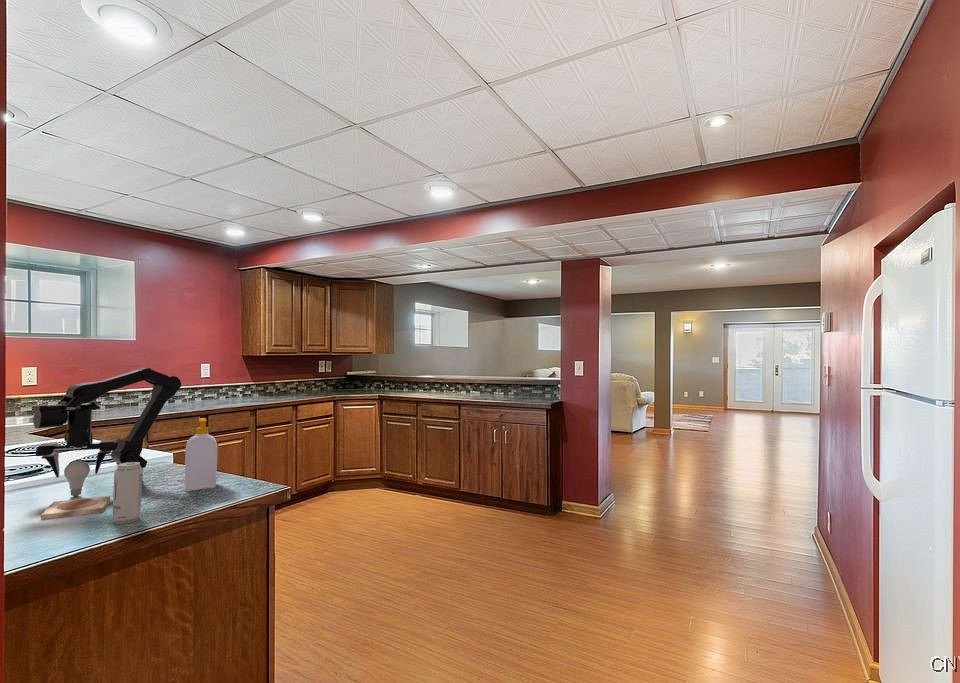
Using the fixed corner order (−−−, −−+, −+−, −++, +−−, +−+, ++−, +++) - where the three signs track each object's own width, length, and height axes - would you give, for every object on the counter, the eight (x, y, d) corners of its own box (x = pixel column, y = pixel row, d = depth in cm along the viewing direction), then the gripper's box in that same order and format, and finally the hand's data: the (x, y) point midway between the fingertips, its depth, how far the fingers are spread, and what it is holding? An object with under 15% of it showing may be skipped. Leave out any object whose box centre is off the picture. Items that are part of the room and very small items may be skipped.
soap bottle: (214, 483, 163) (217, 416, 164) (216, 487, 158) (218, 419, 158) (184, 486, 159) (186, 418, 159) (184, 491, 153) (187, 420, 154)
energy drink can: (110, 520, 125) (113, 463, 126) (138, 515, 130) (140, 460, 130) (113, 526, 121) (116, 467, 122) (142, 521, 125) (144, 464, 126)
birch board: (110, 499, 143) (110, 495, 143) (102, 511, 132) (103, 507, 132) (53, 505, 136) (53, 501, 136) (40, 519, 125) (41, 514, 125)
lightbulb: (93, 495, 147) (95, 459, 148) (71, 500, 141) (72, 463, 142) (80, 493, 149) (82, 458, 150) (57, 498, 143) (59, 461, 144)
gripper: (120, 419, 158) (118, 466, 157) (46, 423, 148) (44, 473, 148) (115, 424, 148) (113, 474, 148) (36, 428, 139) (33, 481, 138)
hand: (77, 475), depth 146 cm, fingers open, 9 cm apart
